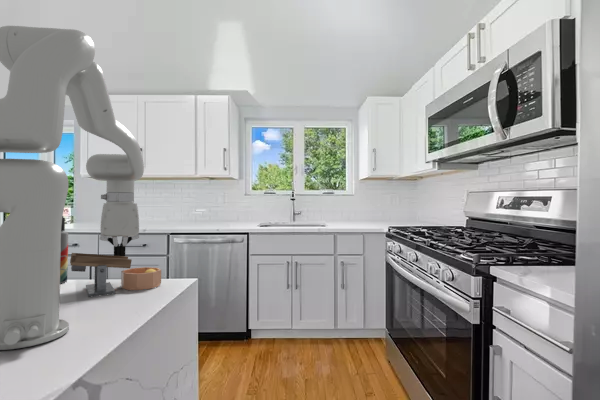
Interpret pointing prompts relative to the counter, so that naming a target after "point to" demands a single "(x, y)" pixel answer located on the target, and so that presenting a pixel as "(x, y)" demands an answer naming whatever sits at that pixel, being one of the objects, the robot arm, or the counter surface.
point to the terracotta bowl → (140, 278)
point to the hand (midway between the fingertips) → (119, 258)
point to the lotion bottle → (64, 253)
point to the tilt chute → (97, 261)
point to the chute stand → (100, 283)
